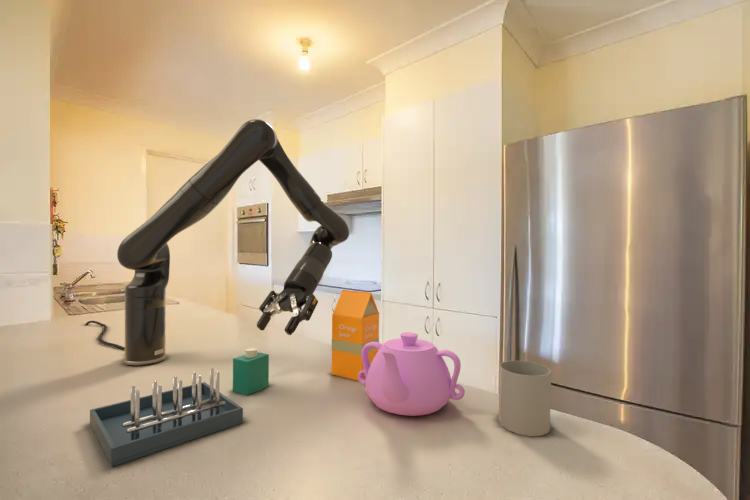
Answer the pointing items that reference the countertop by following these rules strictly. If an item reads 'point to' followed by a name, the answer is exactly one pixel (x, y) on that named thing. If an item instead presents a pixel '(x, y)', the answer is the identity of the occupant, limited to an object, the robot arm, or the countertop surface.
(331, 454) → the countertop surface
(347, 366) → the orange juice
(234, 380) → the detergent bottle
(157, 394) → the dish rack
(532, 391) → the cup
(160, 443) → the drip tray
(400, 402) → the teapot
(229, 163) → the robot arm
